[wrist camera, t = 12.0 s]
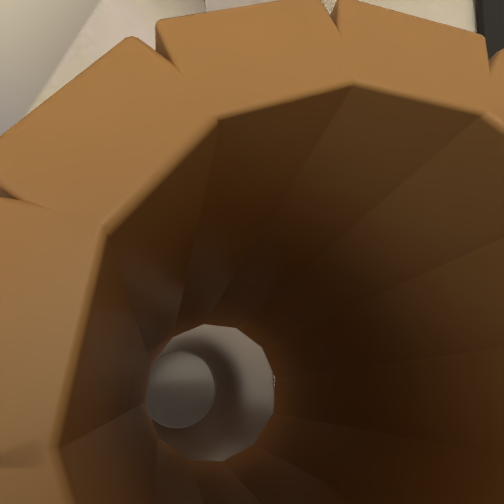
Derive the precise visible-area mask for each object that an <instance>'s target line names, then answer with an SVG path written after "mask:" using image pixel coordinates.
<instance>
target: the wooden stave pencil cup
mask: <svg viewBox="0 0 504 504" xmlns="http://www.w3.org/2000/svg"><path fill="white" fill-rule="evenodd" d="M155 34H156V51H155V50H154V49H152V48H151V47H150V46H148V45H147V44H145V43H144V42H143V41H141V40H140V39H139V38H136V37H133V36H131V37H127V38H125V39H124V40H122V41H121V42H120V43H118V44H117V45H116V46H115V47H113V48H112V49H111V50H110V51H108V52H107V53H106V54H104V55H103V56H102V57H101V58H99V59H98V60H97V61H95V62H94V63H93V64H92V65H90V66H89V67H88V68H87V69H85V70H84V71H83V72H81V73H80V74H79V75H78V76H76V77H75V78H74V79H72V80H71V81H70V82H69V83H67V84H66V85H65V86H64V87H62V88H61V89H60V90H58V91H57V92H56V93H55V94H53V95H52V96H51V97H49V98H48V99H47V100H46V101H44V102H43V103H42V104H41V105H39V106H38V107H37V108H35V109H34V110H33V111H32V112H30V113H29V114H28V115H27V116H25V117H24V118H23V119H21V120H20V121H19V122H18V123H17V124H15V125H14V126H13V127H11V128H10V129H9V130H7V131H6V132H5V133H4V134H2V135H1V136H0V504H504V49H502V50H500V51H498V52H496V53H495V54H494V56H493V57H492V58H491V59H490V60H488V54H487V47H486V40H485V38H484V36H483V35H481V34H478V33H474V32H470V31H467V30H463V29H459V28H456V27H452V26H448V25H445V24H441V23H437V22H434V21H430V20H426V19H423V18H419V17H415V16H412V15H408V14H404V13H401V12H397V11H393V10H390V9H386V8H382V7H379V6H375V5H371V4H368V3H364V2H360V1H357V0H337V2H336V4H335V6H334V8H333V10H332V12H331V15H329V13H328V12H327V10H326V8H325V7H324V5H323V3H322V2H321V0H278V1H272V2H266V3H260V4H254V5H248V6H241V7H235V8H229V9H223V10H217V11H211V12H204V13H198V14H192V15H186V16H180V17H174V18H167V19H161V20H159V21H157V22H156V27H155ZM203 324H207V325H215V326H223V327H231V328H237V329H238V330H239V331H241V332H242V333H243V334H245V335H246V336H247V337H249V338H250V339H251V340H253V341H254V342H255V343H257V344H258V345H259V346H261V347H262V349H263V351H264V354H265V356H266V358H267V360H268V363H269V365H270V367H271V369H272V372H273V374H274V376H275V394H274V410H273V414H272V416H271V417H270V419H269V421H268V422H267V424H266V426H265V427H264V429H263V430H262V432H261V434H260V435H259V437H258V439H257V440H256V442H255V444H254V445H252V446H250V447H248V448H246V449H245V450H243V451H241V452H239V453H237V454H236V455H234V456H232V457H230V458H228V459H226V460H225V461H208V460H193V459H186V458H185V457H183V456H182V455H181V454H179V453H178V452H177V451H175V450H174V449H173V448H172V447H170V446H169V445H168V444H166V443H165V442H164V441H162V440H161V439H160V438H159V437H158V436H157V433H156V430H155V428H154V425H153V422H152V420H151V417H150V414H149V411H148V409H147V406H146V403H145V399H146V393H147V387H148V381H149V375H150V369H151V365H152V363H153V362H154V361H155V360H156V358H157V357H158V356H159V354H160V353H161V352H162V351H163V349H164V348H165V347H166V346H167V344H168V343H169V342H170V340H171V339H172V338H173V337H175V336H177V335H180V334H182V333H184V332H187V331H189V330H191V329H194V328H196V327H198V326H201V325H203Z"/></svg>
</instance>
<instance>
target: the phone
mask: <svg viewBox="0 0 504 504" xmlns="http://www.w3.org/2000/svg"><path fill="white" fill-rule="evenodd" d="M477 16H478V34H481V35H483V36H484V38H485V40H486V47H487V54H488V60H490V59H491V58H492V57H493V56H494V54H495V53H496V52H498V51H500V50H502V49H504V0H477Z"/></svg>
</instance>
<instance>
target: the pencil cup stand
mask: <svg viewBox="0 0 504 504" xmlns="http://www.w3.org/2000/svg"><path fill="white" fill-rule="evenodd" d="M274 394H275V388H274V376H273V372H272V369H271V367H270V365H269V363H268V360H267V358H266V356H265V354H264V351H263V349H262V347H261V346H259V345H258V344H257V343H255V342H254V341H253V340H251V339H250V338H249V337H247V336H246V335H245V334H243V333H242V332H241V331H239V330H238V329H237V328H231V327H223V326H215V325H207V324H203V325H201V326H198V327H196V328H194V329H191V330H189V331H187V332H184V333H182V334H180V335H177V336H175V337H173V338H172V339H171V340H170V342H169V343H168V344H167V346H166V347H165V348H164V349H163V351H162V352H161V353H160V354H159V356H158V357H157V358H156V360H155V361H154V362H153V363H152V365H151V369H150V375H149V381H148V387H147V393H146V399H145V403H146V406H147V409H148V411H149V414H150V417H151V420H152V422H153V425H154V428H155V430H156V433H157V436H158V437H159V438H160V439H161V440H162V441H164V442H165V443H166V444H168V445H169V446H170V447H172V448H173V449H174V450H175V451H177V452H178V453H179V454H181V455H182V456H183V457H185V458H186V459H193V460H208V461H225V460H226V459H228V458H230V457H232V456H234V455H236V454H237V453H239V452H241V451H243V450H245V449H246V448H248V447H250V446H252V445H254V444H255V442H256V440H257V439H258V437H259V435H260V434H261V432H262V430H263V429H264V427H265V426H266V424H267V422H268V421H269V419H270V417H271V416H272V414H273V410H274Z"/></svg>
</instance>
